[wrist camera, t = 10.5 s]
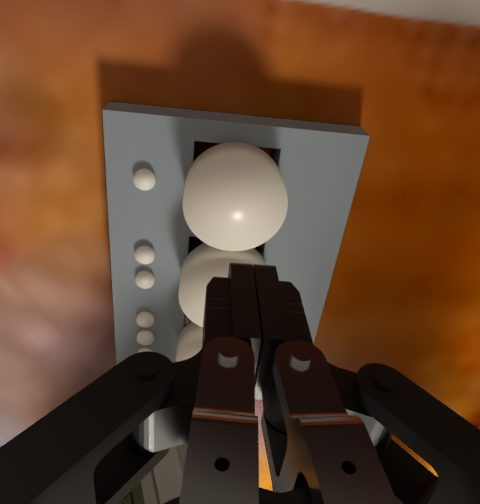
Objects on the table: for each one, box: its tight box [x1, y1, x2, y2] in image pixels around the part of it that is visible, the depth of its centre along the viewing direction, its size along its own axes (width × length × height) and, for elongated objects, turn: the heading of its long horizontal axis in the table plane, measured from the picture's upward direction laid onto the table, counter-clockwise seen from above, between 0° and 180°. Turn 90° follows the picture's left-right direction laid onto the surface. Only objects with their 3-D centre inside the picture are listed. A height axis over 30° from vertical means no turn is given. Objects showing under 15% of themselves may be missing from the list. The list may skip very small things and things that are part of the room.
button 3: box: [176, 321, 203, 362], centre depth 26 cm, size 5×5×3 cm
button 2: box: [178, 242, 266, 327], centre depth 23 cm, size 5×5×3 cm
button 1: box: [183, 142, 288, 251], centre depth 20 cm, size 5×5×3 cm
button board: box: [102, 101, 370, 365], centre depth 24 cm, size 12×16×2 cm
